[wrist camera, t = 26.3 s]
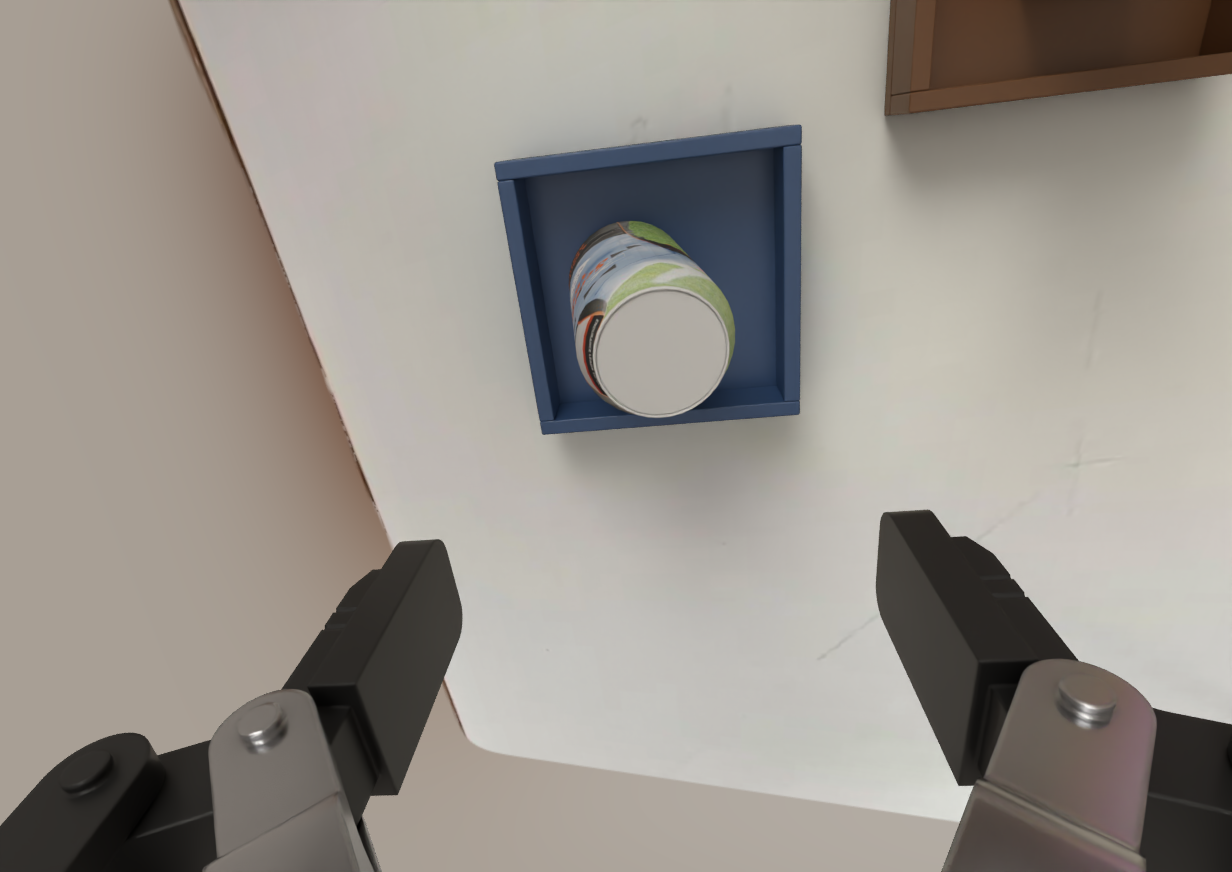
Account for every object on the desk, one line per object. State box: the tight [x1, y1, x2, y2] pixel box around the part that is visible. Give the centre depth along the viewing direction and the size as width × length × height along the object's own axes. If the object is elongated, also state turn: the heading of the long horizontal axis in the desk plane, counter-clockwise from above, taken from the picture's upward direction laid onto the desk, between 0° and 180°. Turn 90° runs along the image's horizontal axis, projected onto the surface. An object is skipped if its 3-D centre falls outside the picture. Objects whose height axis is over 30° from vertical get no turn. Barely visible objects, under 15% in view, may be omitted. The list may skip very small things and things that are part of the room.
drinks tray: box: [494, 125, 802, 435], centre depth 33 cm, size 14×14×3 cm
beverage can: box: [569, 221, 735, 418], centre depth 28 cm, size 6×7×12 cm
